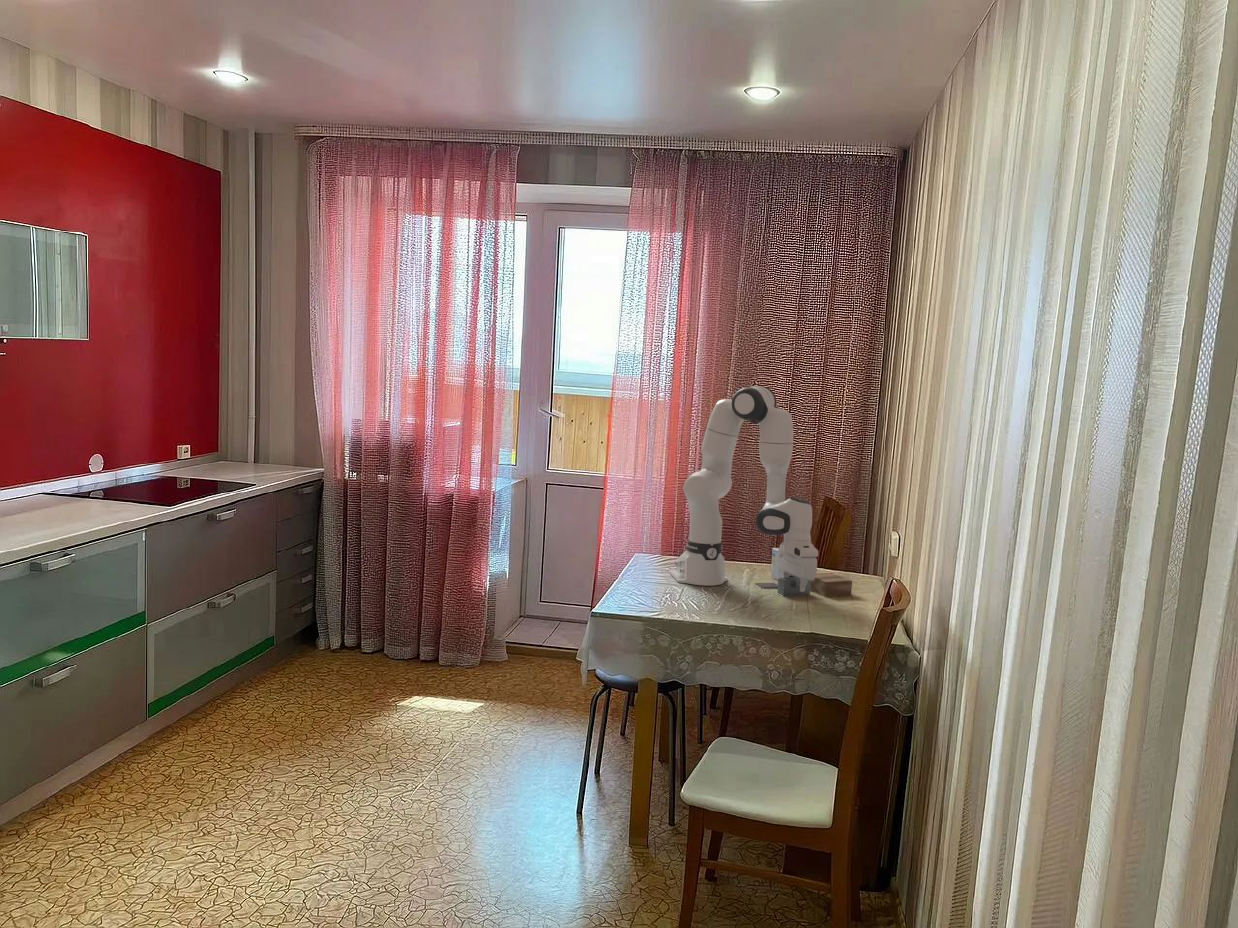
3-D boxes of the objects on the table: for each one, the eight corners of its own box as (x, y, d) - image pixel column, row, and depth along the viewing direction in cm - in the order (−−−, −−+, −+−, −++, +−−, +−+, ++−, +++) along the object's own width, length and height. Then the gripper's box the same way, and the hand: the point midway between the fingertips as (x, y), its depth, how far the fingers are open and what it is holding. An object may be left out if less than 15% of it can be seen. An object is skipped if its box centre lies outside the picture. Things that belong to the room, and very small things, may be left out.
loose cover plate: (755, 585, 321) (755, 582, 321) (773, 585, 323) (773, 582, 323) (762, 589, 316) (762, 586, 316) (781, 589, 317) (781, 586, 317)
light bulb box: (802, 583, 326) (804, 553, 325) (785, 584, 323) (787, 553, 322) (785, 576, 336) (787, 546, 335) (769, 577, 333) (771, 547, 332)
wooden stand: (806, 588, 319) (807, 573, 318) (831, 586, 322) (832, 572, 322) (825, 596, 308) (826, 582, 307) (851, 595, 311) (852, 580, 310)
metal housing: (777, 593, 309) (778, 577, 309) (803, 592, 313) (804, 576, 312) (783, 597, 306) (784, 580, 305) (809, 595, 309) (810, 579, 308)
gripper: (772, 540, 316) (770, 580, 318) (804, 553, 297) (801, 595, 298) (789, 540, 318) (786, 579, 320) (821, 552, 299) (818, 594, 301)
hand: (794, 587), depth 309 cm, fingers open, 8 cm apart
